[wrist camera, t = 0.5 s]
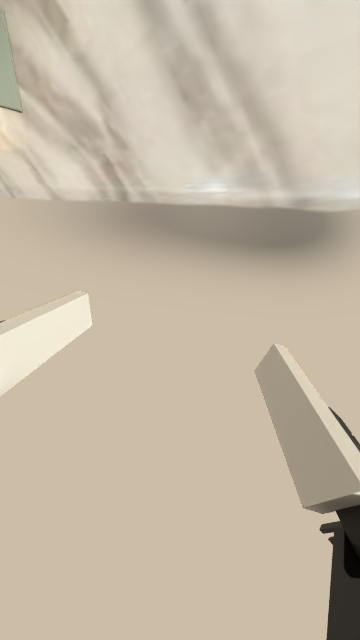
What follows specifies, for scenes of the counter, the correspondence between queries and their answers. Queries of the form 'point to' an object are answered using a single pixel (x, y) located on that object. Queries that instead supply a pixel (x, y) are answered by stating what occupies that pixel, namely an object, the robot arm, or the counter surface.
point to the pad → (7, 71)
